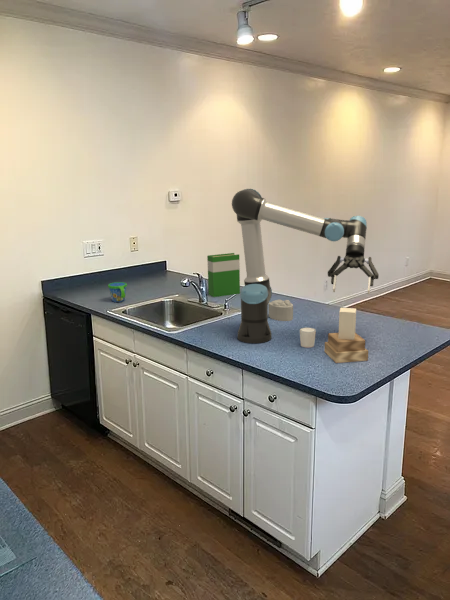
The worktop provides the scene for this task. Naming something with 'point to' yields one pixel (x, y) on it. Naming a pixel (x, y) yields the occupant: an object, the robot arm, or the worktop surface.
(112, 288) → the snack cup
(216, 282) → the hardback book
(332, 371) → the worktop surface
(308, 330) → the shot glass
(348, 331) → the cream brick
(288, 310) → the lumpy-topped squat cylinder
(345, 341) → the block tower
